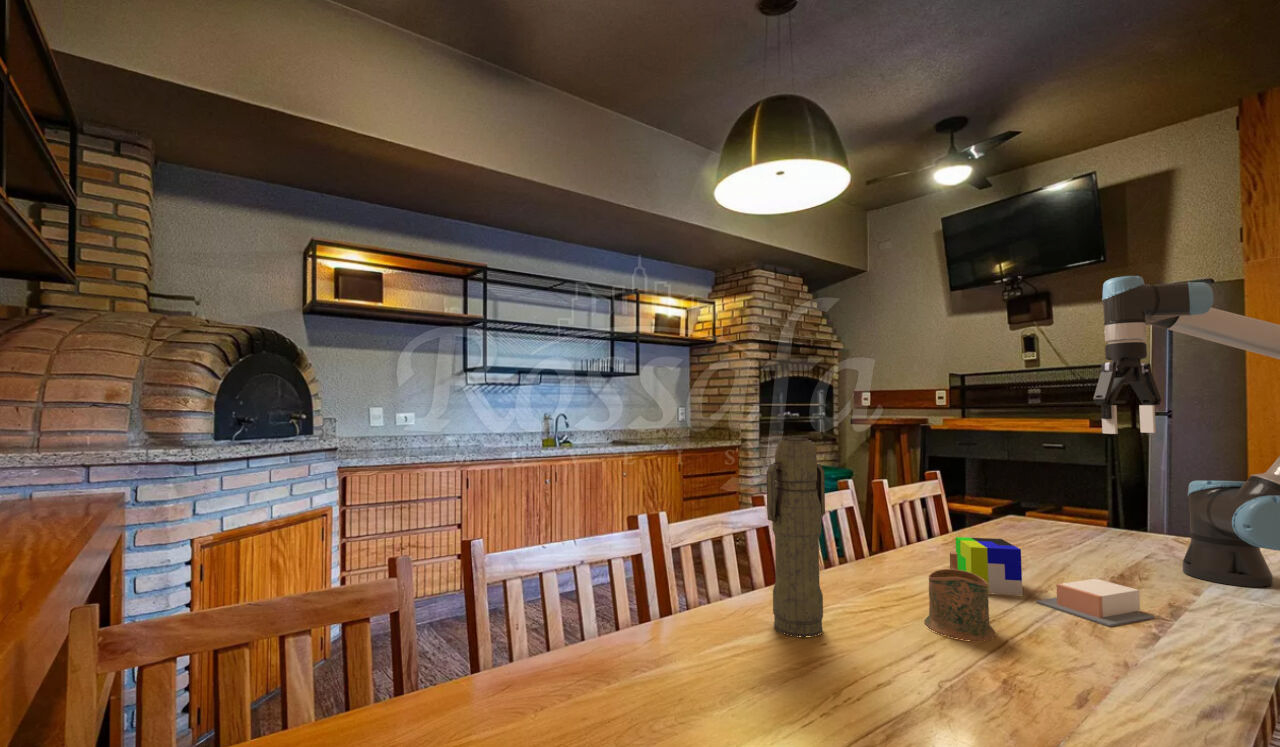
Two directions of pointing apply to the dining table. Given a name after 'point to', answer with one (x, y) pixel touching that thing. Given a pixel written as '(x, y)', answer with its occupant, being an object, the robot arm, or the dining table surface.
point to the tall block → (1098, 597)
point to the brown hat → (959, 604)
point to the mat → (1106, 621)
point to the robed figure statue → (796, 536)
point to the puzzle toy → (992, 563)
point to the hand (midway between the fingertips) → (1129, 433)
